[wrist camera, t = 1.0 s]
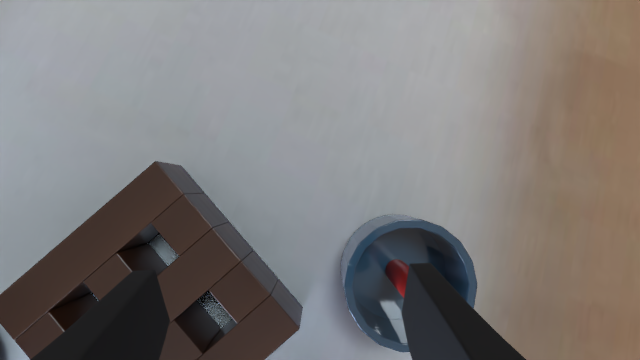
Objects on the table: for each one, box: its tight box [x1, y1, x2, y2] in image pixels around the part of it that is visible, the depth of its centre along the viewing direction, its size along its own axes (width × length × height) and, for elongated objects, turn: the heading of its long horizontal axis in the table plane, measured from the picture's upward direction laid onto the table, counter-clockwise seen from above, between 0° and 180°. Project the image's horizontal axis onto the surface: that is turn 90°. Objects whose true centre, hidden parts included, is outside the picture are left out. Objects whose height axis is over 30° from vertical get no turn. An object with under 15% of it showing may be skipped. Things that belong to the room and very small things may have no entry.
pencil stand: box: [0, 161, 303, 360], centre depth 21 cm, size 12×12×4 cm
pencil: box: [385, 259, 409, 298], centre depth 18 cm, size 1×1×8 cm
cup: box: [341, 215, 477, 352], centre depth 20 cm, size 7×7×4 cm
